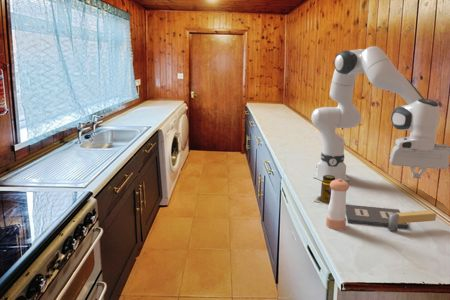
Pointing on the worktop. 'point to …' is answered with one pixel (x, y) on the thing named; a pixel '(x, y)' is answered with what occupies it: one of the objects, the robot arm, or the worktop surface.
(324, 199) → the condiment
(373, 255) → the worktop surface
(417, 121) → the robot arm
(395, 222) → the tan piece
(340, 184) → the pepper shaker
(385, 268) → the worktop surface
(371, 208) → the board
